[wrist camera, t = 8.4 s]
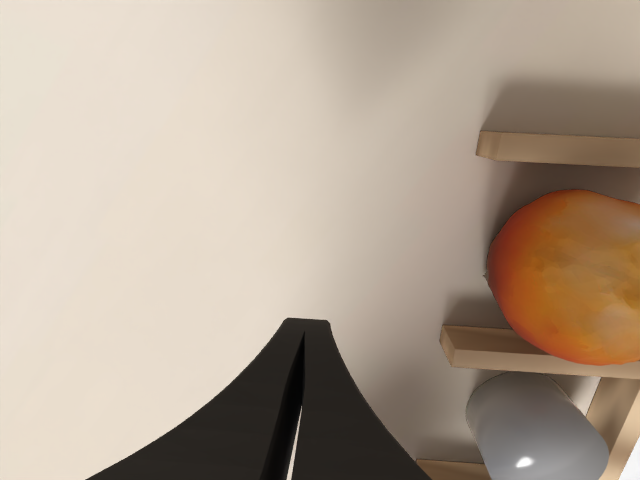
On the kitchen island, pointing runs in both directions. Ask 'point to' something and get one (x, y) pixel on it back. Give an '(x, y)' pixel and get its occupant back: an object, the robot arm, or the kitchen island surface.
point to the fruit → (571, 276)
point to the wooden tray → (519, 355)
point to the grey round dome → (533, 430)
